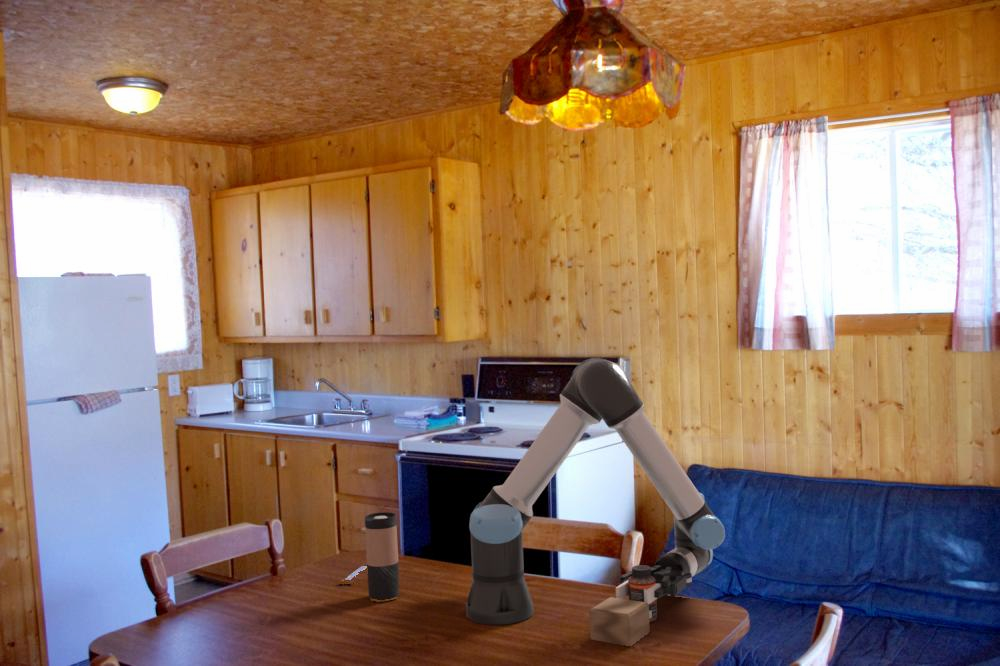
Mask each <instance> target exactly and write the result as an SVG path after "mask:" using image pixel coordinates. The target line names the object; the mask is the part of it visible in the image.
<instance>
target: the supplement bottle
mask: <svg viewBox="0 0 1000 666" xmlns="http://www.w3.org/2000/svg"><path fill="white" fill-rule="evenodd" d="M631 571H632V574H633V575H632V576H631V577H630V578H629V579H628V594H629V595H628V600H633V601H640V602H644V591H646V590H647V589H649V588H650V587H652V586H654V585H655V584H656V580H655V578H654V577H653V576H651V566H649V565H645V564H644V565H643V564H638V565H634V566H632V567H631ZM657 603H658V602H657V599H656V600H655V601H653V602H652V603H650V604H649V622H651V623H654V622H655V621H656V620H657V619H658V608H657V606H658V605H657ZM653 621H654V622H653Z"/></svg>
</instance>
